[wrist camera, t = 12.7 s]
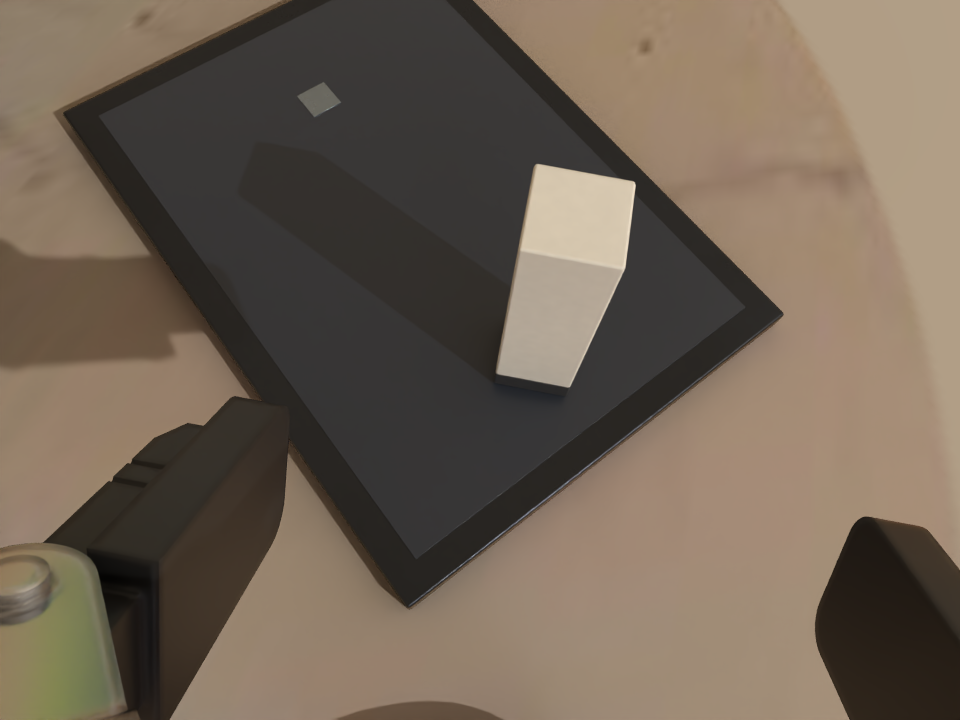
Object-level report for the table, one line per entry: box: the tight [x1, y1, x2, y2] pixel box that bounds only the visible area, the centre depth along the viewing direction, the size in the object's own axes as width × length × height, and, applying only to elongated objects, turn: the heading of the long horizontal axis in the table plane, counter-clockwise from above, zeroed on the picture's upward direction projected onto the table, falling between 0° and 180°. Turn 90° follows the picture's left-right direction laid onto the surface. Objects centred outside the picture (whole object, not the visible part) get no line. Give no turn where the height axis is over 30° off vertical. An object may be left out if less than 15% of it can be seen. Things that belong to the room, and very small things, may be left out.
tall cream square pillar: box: [494, 164, 636, 396], centre depth 21 cm, size 2×2×8 cm
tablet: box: [63, 0, 783, 610], centre depth 27 cm, size 22×16×1 cm
